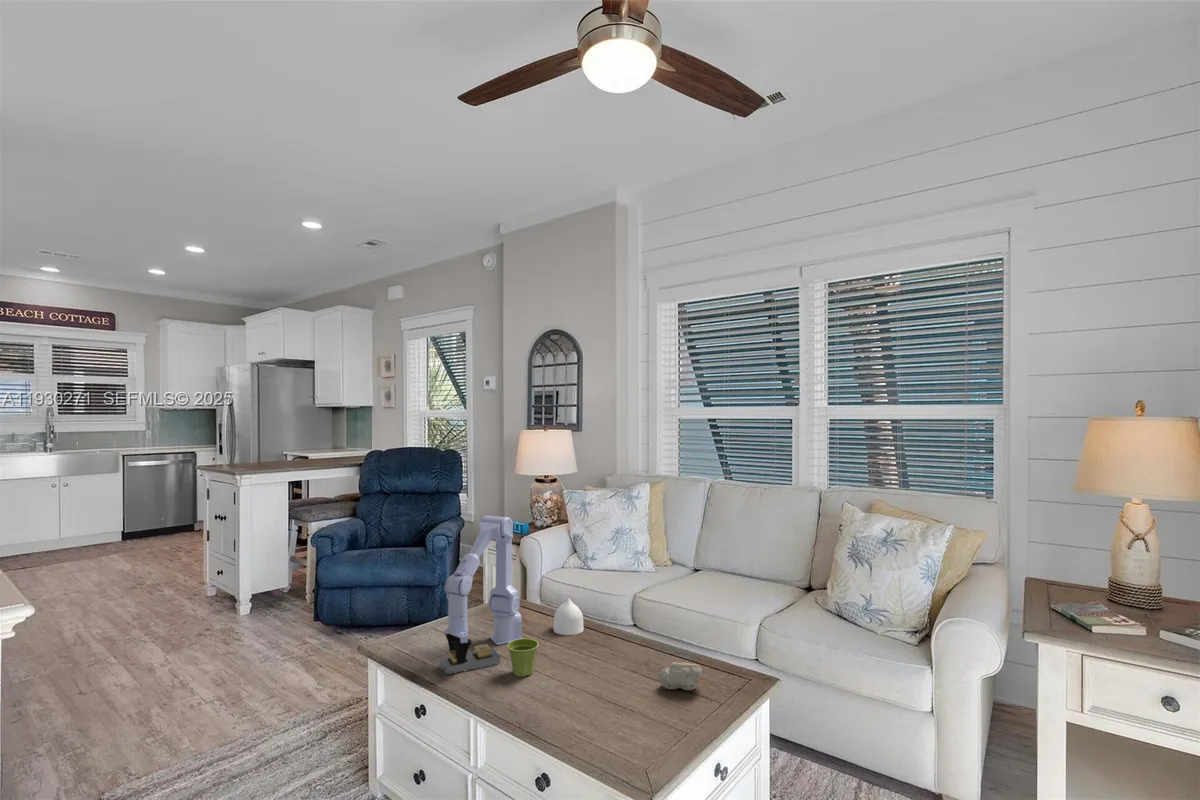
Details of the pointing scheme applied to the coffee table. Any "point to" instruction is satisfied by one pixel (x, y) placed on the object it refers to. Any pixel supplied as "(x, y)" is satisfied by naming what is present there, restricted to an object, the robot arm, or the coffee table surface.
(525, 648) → the plant pot
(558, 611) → the teardrop
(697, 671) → the fossil replica
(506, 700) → the coffee table surface
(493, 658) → the grey slotted tray
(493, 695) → the coffee table surface
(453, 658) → the gold square block
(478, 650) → the tan square frame
